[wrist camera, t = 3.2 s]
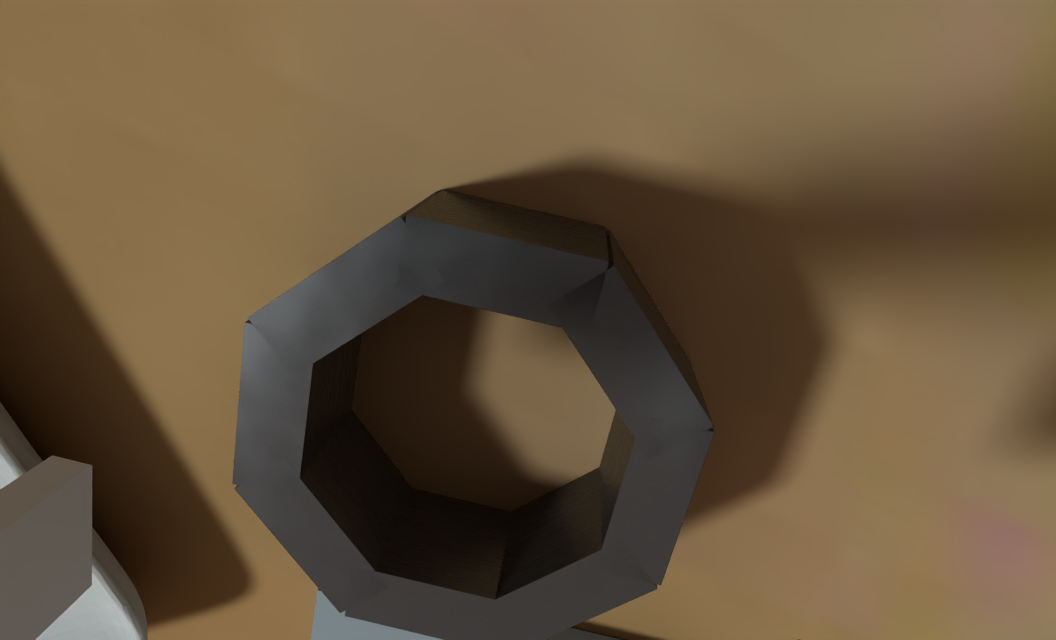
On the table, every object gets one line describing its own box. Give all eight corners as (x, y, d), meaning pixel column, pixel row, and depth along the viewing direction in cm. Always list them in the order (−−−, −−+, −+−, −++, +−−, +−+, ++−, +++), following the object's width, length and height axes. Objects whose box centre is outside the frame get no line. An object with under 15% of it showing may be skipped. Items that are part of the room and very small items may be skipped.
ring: (322, 161, 19) (255, 180, 15) (727, 255, 19) (761, 297, 15) (285, 504, 23) (224, 587, 19) (620, 583, 23) (626, 683, 19)
